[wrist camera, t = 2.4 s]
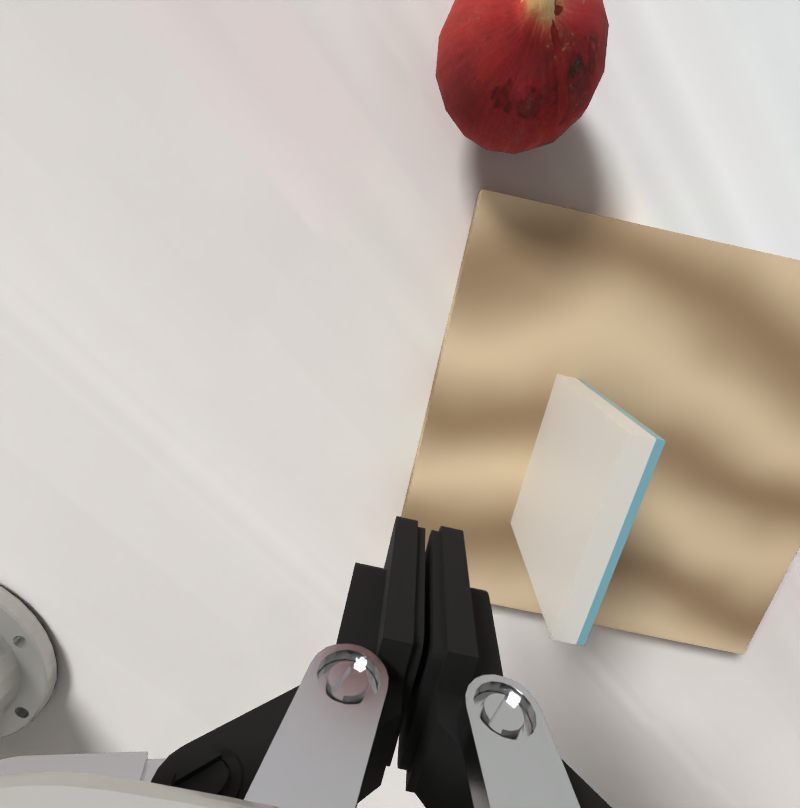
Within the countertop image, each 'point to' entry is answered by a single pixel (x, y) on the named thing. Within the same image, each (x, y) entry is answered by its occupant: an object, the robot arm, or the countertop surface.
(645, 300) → the board
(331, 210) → the countertop surface
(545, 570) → the tile
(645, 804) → the countertop surface
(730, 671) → the countertop surface
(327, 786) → the robot arm
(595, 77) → the onion
